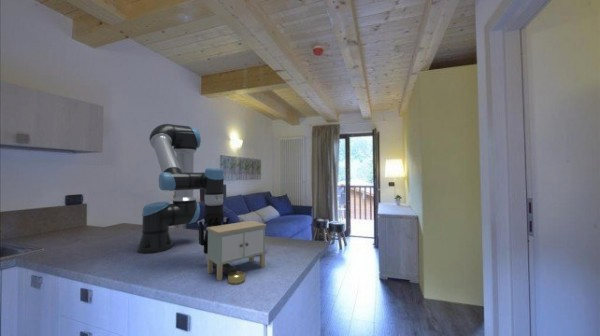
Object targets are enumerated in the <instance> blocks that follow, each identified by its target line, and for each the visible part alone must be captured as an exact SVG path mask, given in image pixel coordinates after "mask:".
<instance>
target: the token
mask: <svg viewBox="0 0 600 336" xmlns="http://www.w3.org/2000/svg"><path fill="white" fill-rule="evenodd" d="M245 281H246V273H245V272H244V271H243V270H242V271H241V270H237V271H234V272H231V273H229V274H228V275H227V283H228V284H229V285H231V286H234V285H235V286H236V285H241V284H243V283H244V282H245Z"/></svg>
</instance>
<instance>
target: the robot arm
mask: <svg viewBox="0 0 600 336" xmlns="http://www.w3.org/2000/svg"><path fill="white" fill-rule="evenodd" d="M201 142H202V141H201V134H200V132H199V130H198V129H197V128H196V127H193V126H188V125H181V124H171V123H163V124H160V125H158V126H156V127H155V128H153V130H152V131H151V132H150V134H149V144H150V146H151V147H152V148H153V149H154V152H155V155H156V157H157V160H158V164H159V167H160V170H161V173H159V175H158V187H159V189H160V190H161V191H169V192H171V191H172V192H174V191H175V197H174V199H172V203H170V202H169V201H167V200H166V201H157V202H156V201H155V202H152V203H148V204H146V205H144V206H143V208H142V214H141V216H142V222H141V223H142V226H141V227H142V230H141V231H142V232H141V233H142V234H141V237H140V240H139V243H138V246H137V252H138V253H141V254H153V253H160V252H163V251H168V250H170V249H171V248H173V241H172V238H171V236H170V235H171V234H170V232H169V228H170V227H172V226H181V225H190V224H194V223H197V226H198V243H199V245H200V246H203V254H204V255H205V261H206V262H207V261H208V230H207V227H213V226H219V225H226V224H229V222H230V217H226V216H224V205H223V203H224V178H225V176H224V175H225V174H224V169H223V168H221V167H216V168H215V167H207V168H205V169H204V172H202V171H201V172H194V159H195V158H194V154H195V153H196V152H197V149H199V148H200V146H201ZM194 190H204V204H205V205H204V209H203V210H204V216H203V218H202V219H201V220H199V217H200V214H201V207H200V203H199V202H198V201H197V198H196V197H194ZM221 223H222V224H221ZM205 224H206V227H204V226H205ZM205 228H206V229H205Z"/></svg>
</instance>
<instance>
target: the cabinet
mask: <svg viewBox="0 0 600 336" xmlns="http://www.w3.org/2000/svg"><path fill="white" fill-rule="evenodd" d="M266 227H267V224H266V223H262V222H260V221H255V220H248V221H247V220H246V221H241V222H235V223H234V222H233V223H228V224H226V225H223V224H221V225H219V226H213V227H207V230H208V263H207V271H206V272H207V273H208V274H212V273H213V272H214V266H213V262H214V263H215V264H217V268H216V280H217V281H218V282H219V281H223V272H222V267H223V264H226V263H228V264H231V263H233V262H237V261H241V260H244V259H248V261H249V262H250V263H252V262H255V257H257V256H259V268H264V267H266V266H265V265H266V263H265V262H266V260H265V259H266Z"/></svg>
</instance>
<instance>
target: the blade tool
mask: <svg viewBox="0 0 600 336" xmlns="http://www.w3.org/2000/svg"><path fill="white" fill-rule="evenodd" d="M206 263H207V264H208V261H206ZM213 267H215V268H216V269H217V264H215V263H214V262H213ZM234 271H238V270H237V268H236V267H235V266H233V265H232V264H231V263H226V264H223V267H222V273H223V274H225V275H227V276H228V274H229V273H231V272H234Z"/></svg>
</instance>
